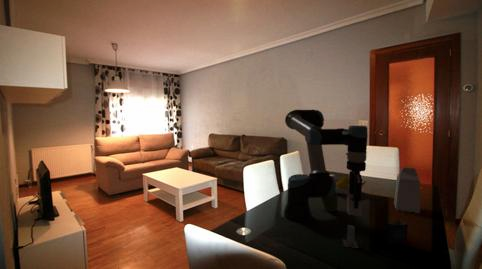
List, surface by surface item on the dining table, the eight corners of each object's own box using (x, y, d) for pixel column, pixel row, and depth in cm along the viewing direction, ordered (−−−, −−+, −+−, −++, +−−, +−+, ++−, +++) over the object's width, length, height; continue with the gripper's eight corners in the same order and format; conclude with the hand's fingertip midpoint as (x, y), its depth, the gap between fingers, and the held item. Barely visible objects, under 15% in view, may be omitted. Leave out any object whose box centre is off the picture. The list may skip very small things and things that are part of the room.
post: (342, 239, 109) (342, 222, 108) (356, 241, 107) (357, 224, 107) (344, 246, 103) (344, 228, 103) (358, 248, 102) (359, 230, 101)
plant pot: (344, 211, 136) (341, 192, 137) (323, 213, 137) (320, 194, 138) (338, 207, 147) (335, 189, 148) (319, 209, 149) (316, 191, 150)
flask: (403, 240, 109) (405, 217, 108) (408, 243, 106) (410, 220, 105) (385, 240, 108) (386, 218, 107) (389, 244, 106) (391, 221, 105)
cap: (346, 209, 108) (347, 193, 107) (358, 211, 107) (359, 194, 106) (348, 214, 103) (349, 197, 102) (361, 215, 102) (362, 198, 101)
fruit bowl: (316, 189, 183) (317, 175, 182) (341, 185, 195) (342, 171, 194) (346, 201, 158) (347, 185, 157) (373, 195, 169) (374, 180, 168)
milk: (395, 210, 144) (398, 168, 142) (393, 203, 154) (396, 164, 152) (420, 214, 138) (423, 170, 136) (416, 207, 148) (419, 166, 146)
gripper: (343, 156, 113) (341, 203, 115) (351, 164, 95) (348, 219, 97) (360, 157, 111) (358, 205, 113) (371, 165, 93) (368, 222, 95)
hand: (353, 212), depth 105 cm, fingers closed on cap, 5 cm apart
